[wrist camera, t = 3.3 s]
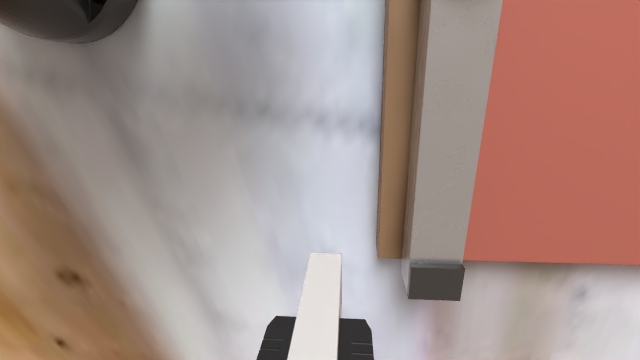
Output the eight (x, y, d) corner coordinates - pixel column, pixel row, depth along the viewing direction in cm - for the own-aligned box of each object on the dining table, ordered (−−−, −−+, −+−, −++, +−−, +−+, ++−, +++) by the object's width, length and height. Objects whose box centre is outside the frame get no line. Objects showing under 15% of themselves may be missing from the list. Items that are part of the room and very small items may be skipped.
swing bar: (420, -85, 18) (438, -126, 15) (501, -91, 18) (541, -135, 14) (396, 270, 27) (404, 302, 23) (450, 272, 27) (467, 304, 23)
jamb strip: (376, 243, 30) (378, 259, 27) (391, -145, 20) (397, -177, 17) (448, 245, 29) (457, 261, 27) (500, -156, 19) (523, -191, 17)
